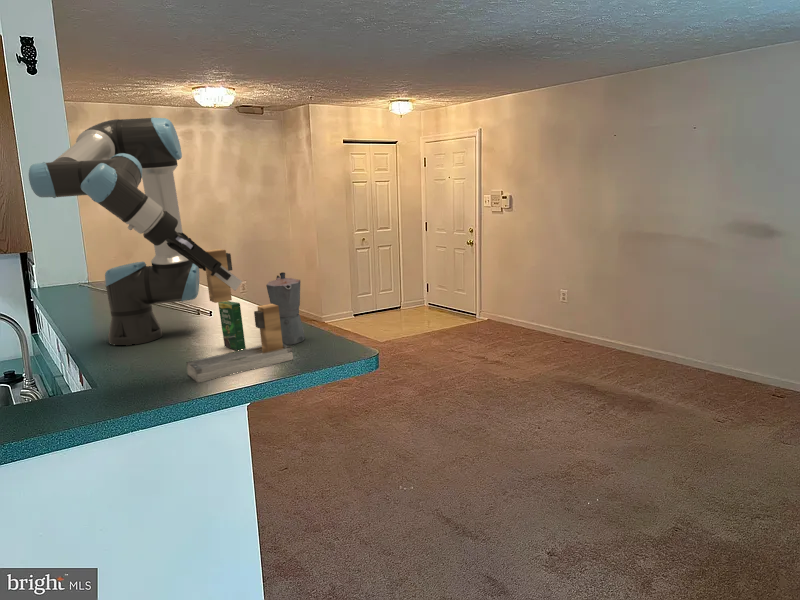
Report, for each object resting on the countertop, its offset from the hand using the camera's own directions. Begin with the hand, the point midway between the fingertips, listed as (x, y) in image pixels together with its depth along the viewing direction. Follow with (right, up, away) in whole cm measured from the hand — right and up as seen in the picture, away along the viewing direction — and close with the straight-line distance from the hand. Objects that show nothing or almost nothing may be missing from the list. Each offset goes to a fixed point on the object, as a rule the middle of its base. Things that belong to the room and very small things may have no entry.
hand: (234, 284), depth 141 cm
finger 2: (+7, -17, +8) cm, 20 cm away
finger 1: (-3, -4, -1) cm, 5 cm away
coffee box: (-6, -17, +22) cm, 29 cm away
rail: (+1, -20, +4) cm, 21 cm away
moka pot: (+8, -16, +26) cm, 31 cm away
